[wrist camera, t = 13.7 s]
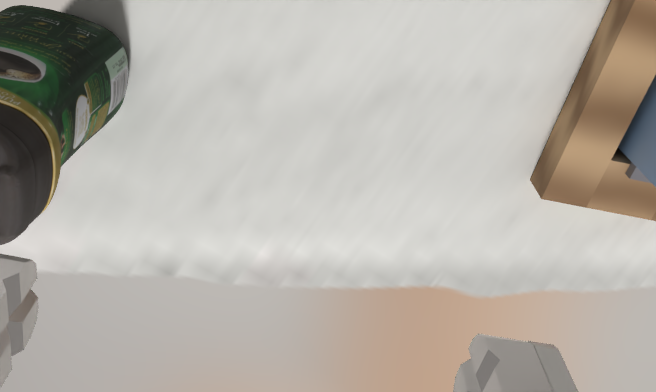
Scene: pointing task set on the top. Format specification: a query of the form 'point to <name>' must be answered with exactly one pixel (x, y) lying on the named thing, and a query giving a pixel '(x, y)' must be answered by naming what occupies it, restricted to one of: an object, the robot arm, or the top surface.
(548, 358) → the robot arm
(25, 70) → the coffee jar
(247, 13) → the top surface
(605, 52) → the wooden base block
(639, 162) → the block
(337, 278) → the top surface
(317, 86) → the top surface
